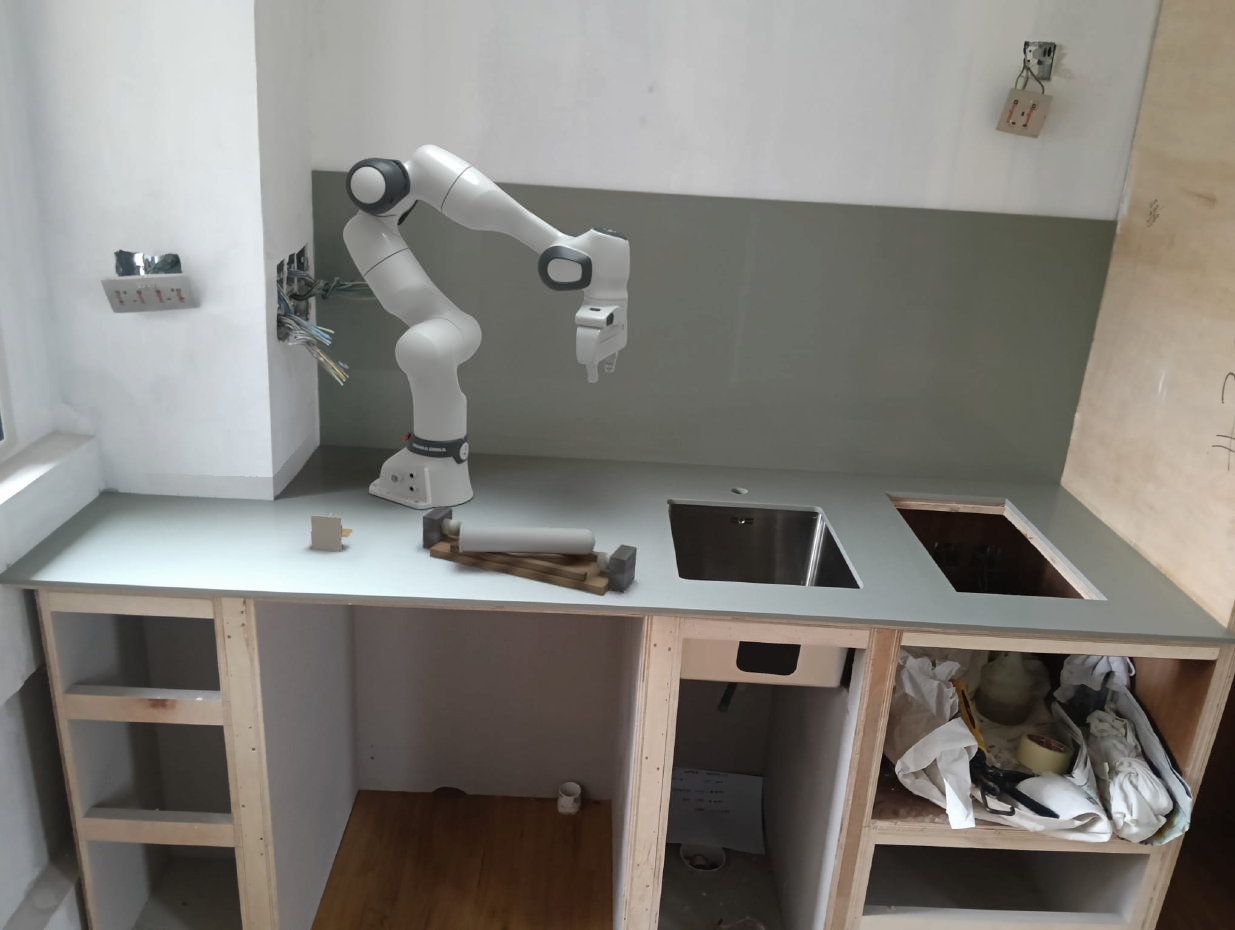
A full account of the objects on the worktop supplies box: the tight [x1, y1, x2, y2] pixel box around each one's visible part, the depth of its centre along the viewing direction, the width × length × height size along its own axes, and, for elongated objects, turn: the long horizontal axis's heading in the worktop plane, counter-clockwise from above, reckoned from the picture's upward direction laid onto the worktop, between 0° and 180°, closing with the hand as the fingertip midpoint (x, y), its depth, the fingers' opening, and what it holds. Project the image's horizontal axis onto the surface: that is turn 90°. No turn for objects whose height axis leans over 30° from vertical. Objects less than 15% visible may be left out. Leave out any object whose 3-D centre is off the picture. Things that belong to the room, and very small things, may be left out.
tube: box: [459, 522, 597, 555], centre depth 184 cm, size 5×5×25 cm
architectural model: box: [310, 512, 354, 553], centre depth 187 cm, size 3×7×7 cm, turn 89°
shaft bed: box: [422, 506, 638, 596], centre depth 186 cm, size 41×11×6 cm, turn 70°
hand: (601, 376), depth 205 cm, fingers open, 8 cm apart
